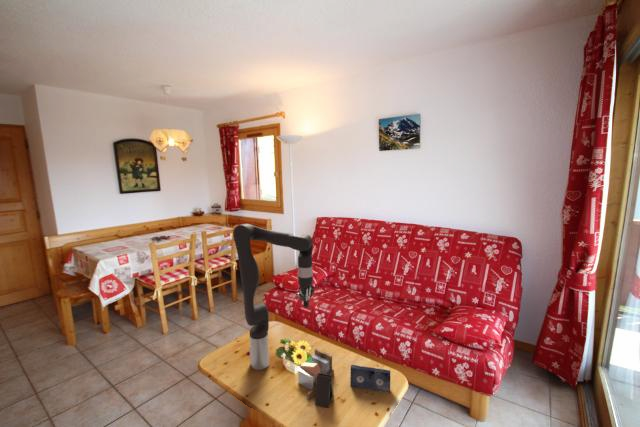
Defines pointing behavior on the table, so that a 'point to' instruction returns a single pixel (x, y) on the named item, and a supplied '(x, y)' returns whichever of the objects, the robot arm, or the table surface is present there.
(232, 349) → the table surface
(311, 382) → the grey flat box
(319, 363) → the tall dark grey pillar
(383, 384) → the vhs cassette tape
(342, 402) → the table surface
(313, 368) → the book
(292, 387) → the table surface
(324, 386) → the door stopper
